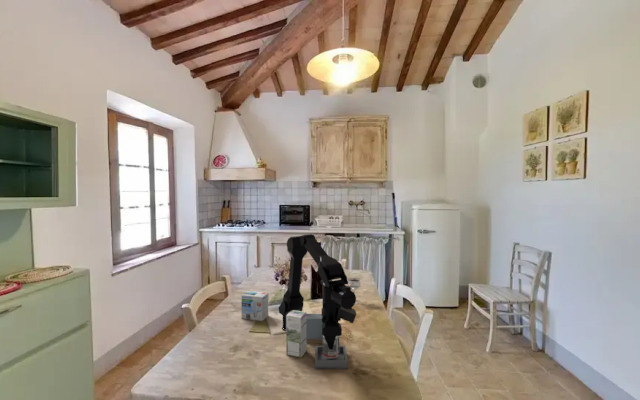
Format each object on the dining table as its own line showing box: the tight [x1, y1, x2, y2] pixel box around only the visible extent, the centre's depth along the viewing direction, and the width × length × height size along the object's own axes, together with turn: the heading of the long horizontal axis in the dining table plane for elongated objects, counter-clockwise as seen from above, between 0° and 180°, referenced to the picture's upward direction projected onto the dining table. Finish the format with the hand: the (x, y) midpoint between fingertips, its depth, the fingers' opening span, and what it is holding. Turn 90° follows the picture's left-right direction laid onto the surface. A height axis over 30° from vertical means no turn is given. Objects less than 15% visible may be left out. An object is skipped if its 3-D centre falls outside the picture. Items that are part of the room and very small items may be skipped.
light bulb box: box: [240, 290, 269, 322], centre depth 150 cm, size 11×7×11 cm, turn 74°
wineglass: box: [347, 277, 362, 305], centre depth 170 cm, size 7×7×12 cm
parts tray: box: [314, 345, 349, 370], centre depth 113 cm, size 11×11×2 cm
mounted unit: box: [306, 313, 323, 344], centre depth 129 cm, size 11×7×9 cm, turn 90°
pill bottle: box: [322, 336, 340, 359], centre depth 113 cm, size 6×6×10 cm
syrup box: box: [285, 310, 308, 358], centre depth 117 cm, size 6×6×14 cm
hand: (330, 344), depth 113 cm, fingers closed on pill bottle, 6 cm apart
